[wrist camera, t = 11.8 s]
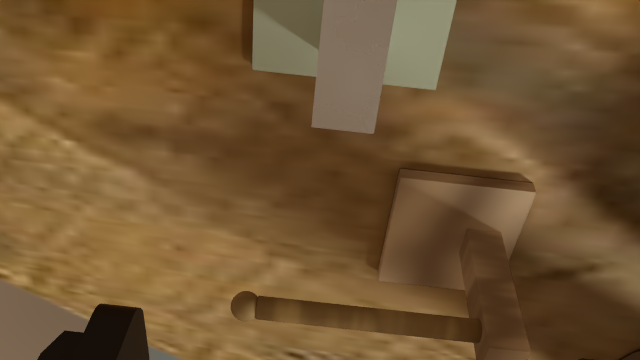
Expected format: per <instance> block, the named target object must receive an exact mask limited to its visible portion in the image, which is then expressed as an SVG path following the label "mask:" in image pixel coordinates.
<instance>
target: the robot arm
mask: <svg viewBox="0 0 640 360" xmlns="http://www.w3.org/2000/svg"><path fill="white" fill-rule="evenodd" d="M38 360H149V352H148V344H147V336H146V329H145V322H144V314H143V310H142V309H141V308H136V307H127V306H118V305H109V304H99V305H98V306H97V307H96V308H95V310H94V312H93V314H92V316H91V318H90V320H89V322H88V325H87V327H86V329H85V331H84V333H82V332H72V331H64V332H63V333H62V334H60V335H59V336H58V337H57V338H56V339H55V340H54V341H53V342H52V343H51V344H50V345H49V346H48V347H47V348H46V349H45V350H44V351H43V352H42V353H41V354H40V356H39V358H38ZM579 360H593V359H584V358H581V359H579ZM622 360H640V351H638V352H635V353H633V354H631V355H629V356H627V357H625V358H624V359H622Z"/></svg>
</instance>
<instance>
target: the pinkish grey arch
mask: <svg viewBox="0 0 640 360" xmlns="http://www.w3.org/2000/svg"><path fill="white" fill-rule="evenodd" d="M396 5H397V0H324V4H323V14H322V24H321V34H320V44H319V54H318V64H317V74H316V84H315V95H314V105H313V115H312V125H311V127H315V128H324V129H333V130H342V131H351V132H360V133H369V134H374V130H375V125H376V119H377V113H378V108H379V102H380V96H381V91H382V85H383V79H384V73H385V68H386V62H387V56H388V51H389V45H390V39H391V34H392V28H393V22H394V17H395V11H396Z"/></svg>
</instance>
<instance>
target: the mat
mask: <svg viewBox="0 0 640 360" xmlns="http://www.w3.org/2000/svg"><path fill="white" fill-rule="evenodd" d="M323 4H324V0H254V10H253V54H252V70H258V71H267V72H276V73H285V74H295V75H304V76H313V77H316V74H317V64H318V54H319V44H320V34H321V24H322V14H323ZM455 5H456V0H397V5H396V11H395V17H394V22H393V28H392V34H391V39H390V45H389V51H388V56H387V62H386V68H385V73H384V79H383V84H385V85H394V86H404V87H413V88H422V89H431V90H436V85H437V81H438V77H439V73H440V68H441V64H442V60H443V56H444V51H445V47H446V43H447V39H448V34H449V30H450V26H451V22H452V17H453V13H454V9H455Z"/></svg>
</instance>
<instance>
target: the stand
mask: <svg viewBox="0 0 640 360" xmlns="http://www.w3.org/2000/svg"><path fill="white" fill-rule="evenodd" d="M535 195H536V190H535V187H534V184H533V183H528V182H519V181H509V180H500V179H491V178H482V177H473V176H464V175H455V174H445V173H436V172H427V171H418V170H409V169H400V170H399V175H398V180H397V184H396V189H395V194H394V199H393V203H392V208H391V213H390V217H389V222H388V227H387V231H386V236H385V241H384V245H383V250H382V255H381V259H380V264H379V269H378V281H383V282H392V283H401V284H411V285H420V286H429V287H438V288H447V289H457V290H465V293H466V299H467V305H468V311H469V317H470V319H469V318H460V317H451V316H442V315H432V314H423V313H414V312H405V311H395V310H386V309H377V308H368V307H358V306H349V305H340V304H331V303H321V302H312V301H303V300H294V299H284V298H275V297H266V296H258V297H257V295H255V294H254V293H252V292H249V291H243V292H240V293H238V294H237V295H236V296H235V297H234V298H233V300H232V302H231V311H232V314H233V315H234V316H235V318H237V319H238V320H240V321H251V320H253V319H254V318H256V319H258V320H268V321H277V322H286V323H296V324H305V325H314V326H323V327H333V328H342V329H351V330H360V331H370V332H379V333H388V334H398V335H407V336H416V337H425V338H435V339H444V340H453V341H463V342H472V343H474V348H475V354H476V360H528V358H529V356H530V354H531V350H530V346H529V342H528V338H527V334H526V330H525V326H524V322H523V318H522V314H521V310H520V306H519V302H518V298H517V294H516V290H515V286H514V282H513V278H512V274H511V270H510V266H509V260H510V257H511V255H512V252H513V250H514V247H515V245H516V242H517V240H518V237H519V235H520V232H521V230H522V227H523V225H524V222H525V220H526V217H527V215H528V212H529V210H530V207H531V205H532V202H533V200H534V197H535Z"/></svg>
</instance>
